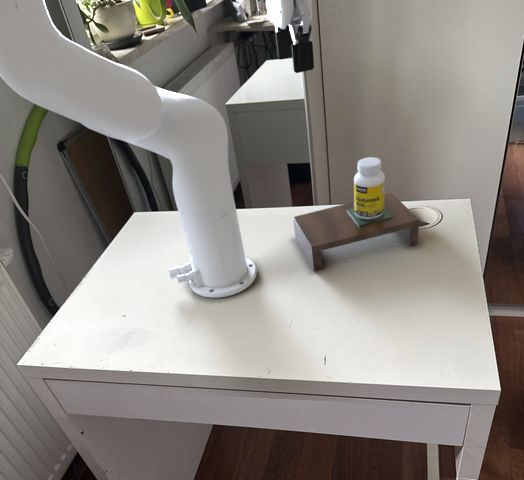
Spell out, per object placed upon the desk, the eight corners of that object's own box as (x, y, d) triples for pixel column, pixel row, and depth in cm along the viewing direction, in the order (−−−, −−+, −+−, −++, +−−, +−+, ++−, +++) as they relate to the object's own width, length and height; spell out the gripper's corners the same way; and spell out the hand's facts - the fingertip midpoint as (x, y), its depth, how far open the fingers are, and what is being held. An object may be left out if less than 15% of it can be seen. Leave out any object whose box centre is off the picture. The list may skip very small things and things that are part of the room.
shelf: (313, 270, 94) (311, 246, 91) (295, 239, 103) (292, 215, 100) (417, 244, 96) (419, 218, 92) (390, 215, 105) (391, 191, 101)
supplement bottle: (351, 220, 95) (350, 168, 89) (357, 205, 99) (356, 155, 92) (381, 221, 94) (382, 168, 87) (386, 206, 97) (387, 154, 91)
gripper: (245, -66, 80) (261, 57, 92) (272, -60, 67) (287, 82, 79) (292, -75, 81) (302, 48, 92) (328, -72, 68) (334, 71, 79)
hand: (295, 63), depth 86 cm, fingers open, 9 cm apart
